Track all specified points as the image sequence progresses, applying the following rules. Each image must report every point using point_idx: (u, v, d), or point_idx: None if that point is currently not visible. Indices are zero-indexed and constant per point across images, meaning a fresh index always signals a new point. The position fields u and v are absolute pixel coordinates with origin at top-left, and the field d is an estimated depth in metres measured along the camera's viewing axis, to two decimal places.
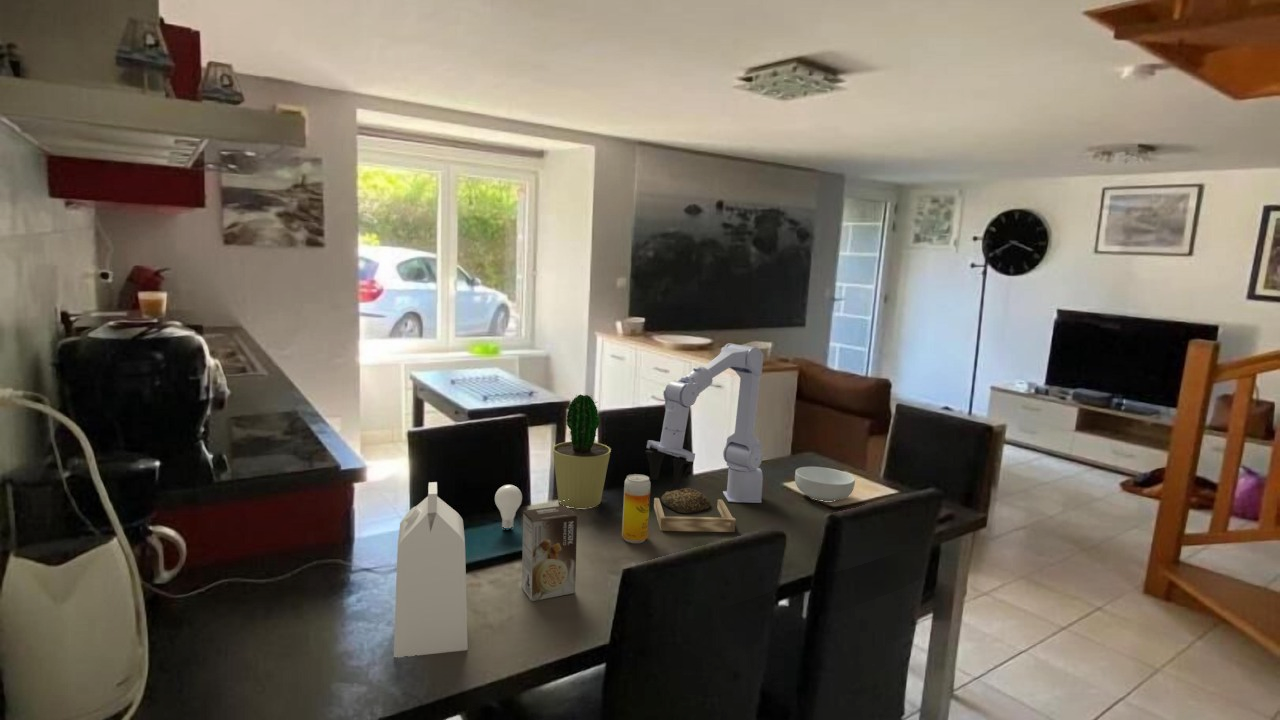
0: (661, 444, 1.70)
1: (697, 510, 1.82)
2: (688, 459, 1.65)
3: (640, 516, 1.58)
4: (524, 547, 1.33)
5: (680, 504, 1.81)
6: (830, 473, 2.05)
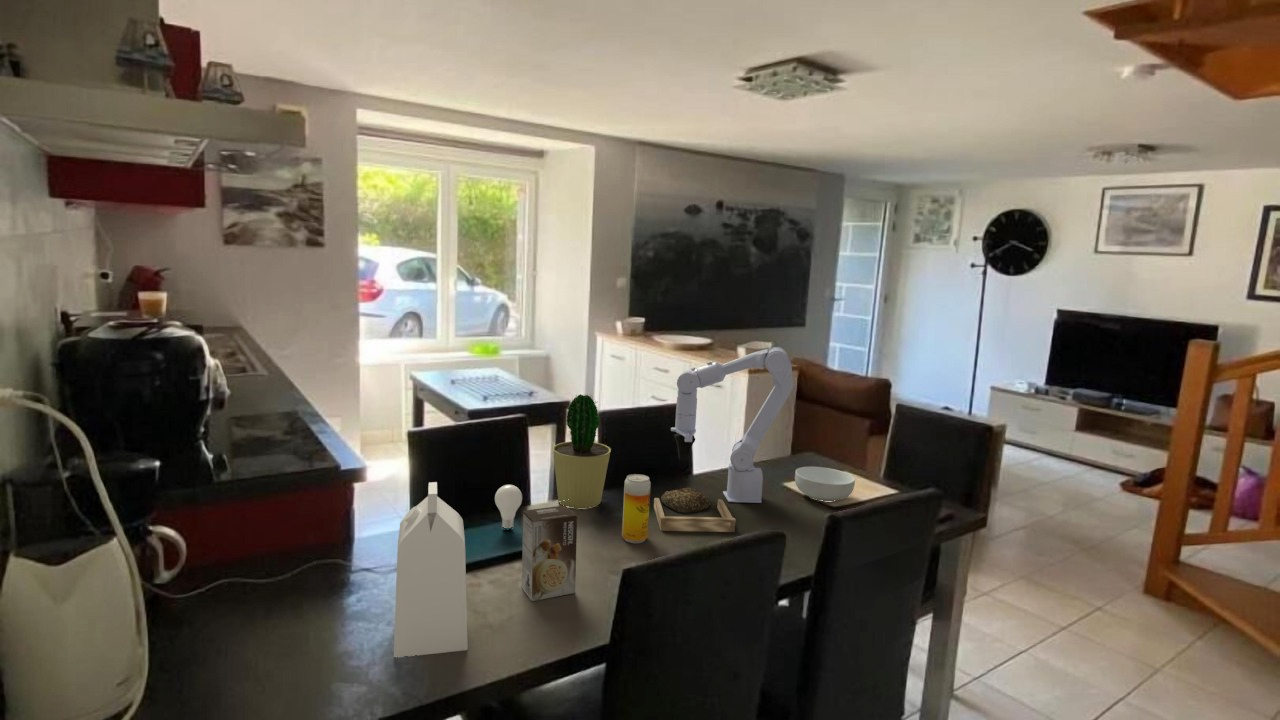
0: (675, 426, 1.96)
1: (697, 510, 1.82)
2: (685, 440, 1.88)
3: (640, 516, 1.58)
4: (524, 547, 1.33)
5: (680, 504, 1.81)
6: (830, 473, 2.05)
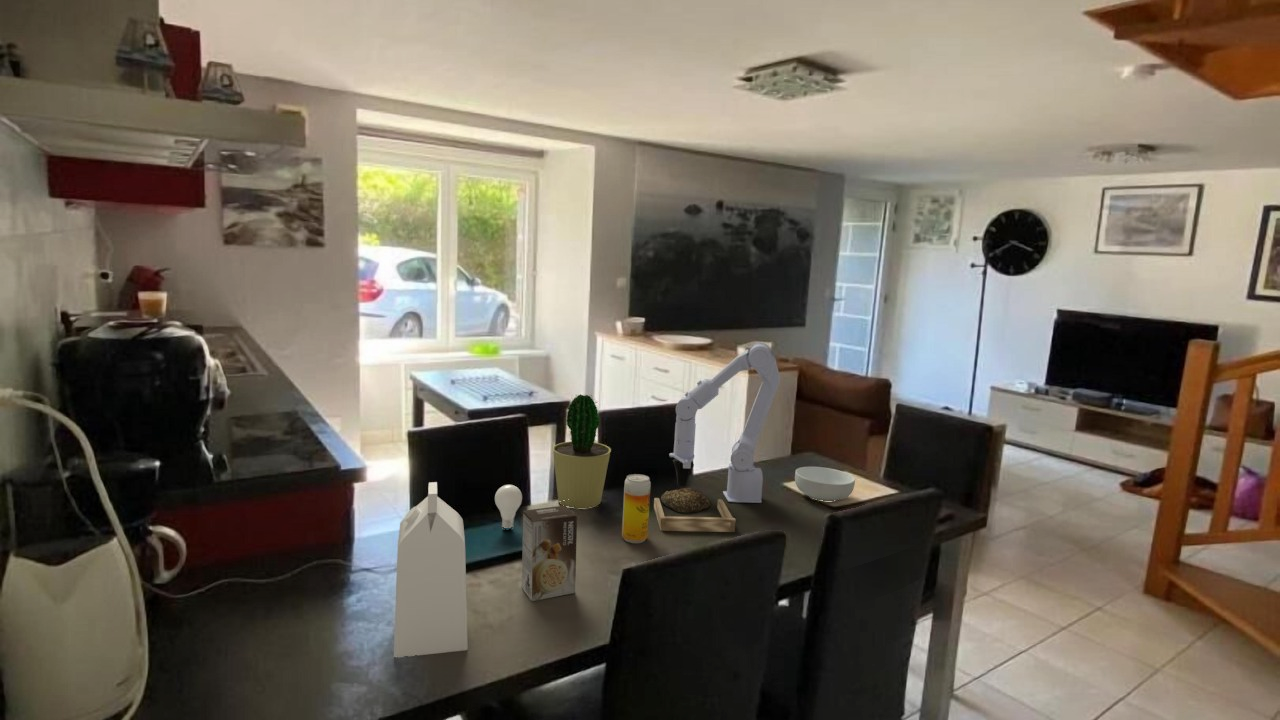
0: (674, 452, 1.96)
1: (697, 510, 1.82)
2: (683, 466, 1.89)
3: (640, 516, 1.58)
4: (524, 547, 1.33)
5: (680, 504, 1.81)
6: (830, 473, 2.05)
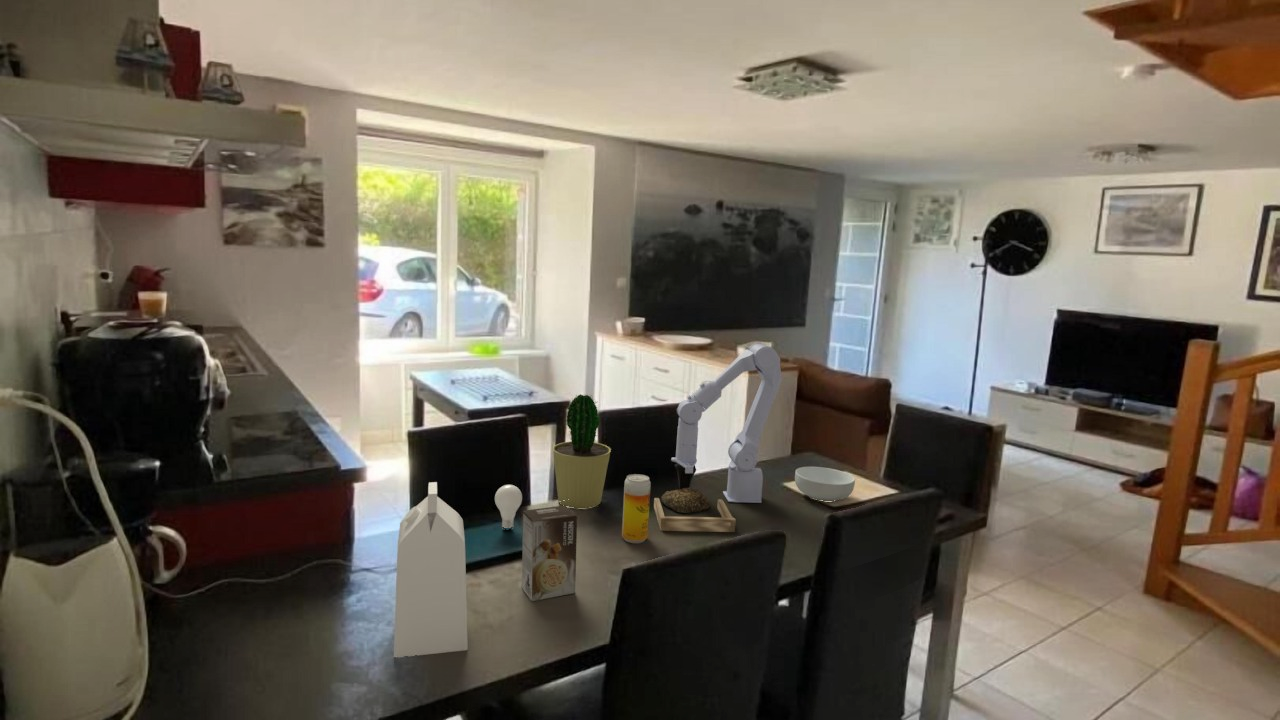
0: (676, 456, 1.92)
1: (696, 510, 1.82)
2: (685, 471, 1.85)
3: (640, 516, 1.58)
4: (524, 547, 1.33)
5: (679, 504, 1.81)
6: (830, 473, 2.05)
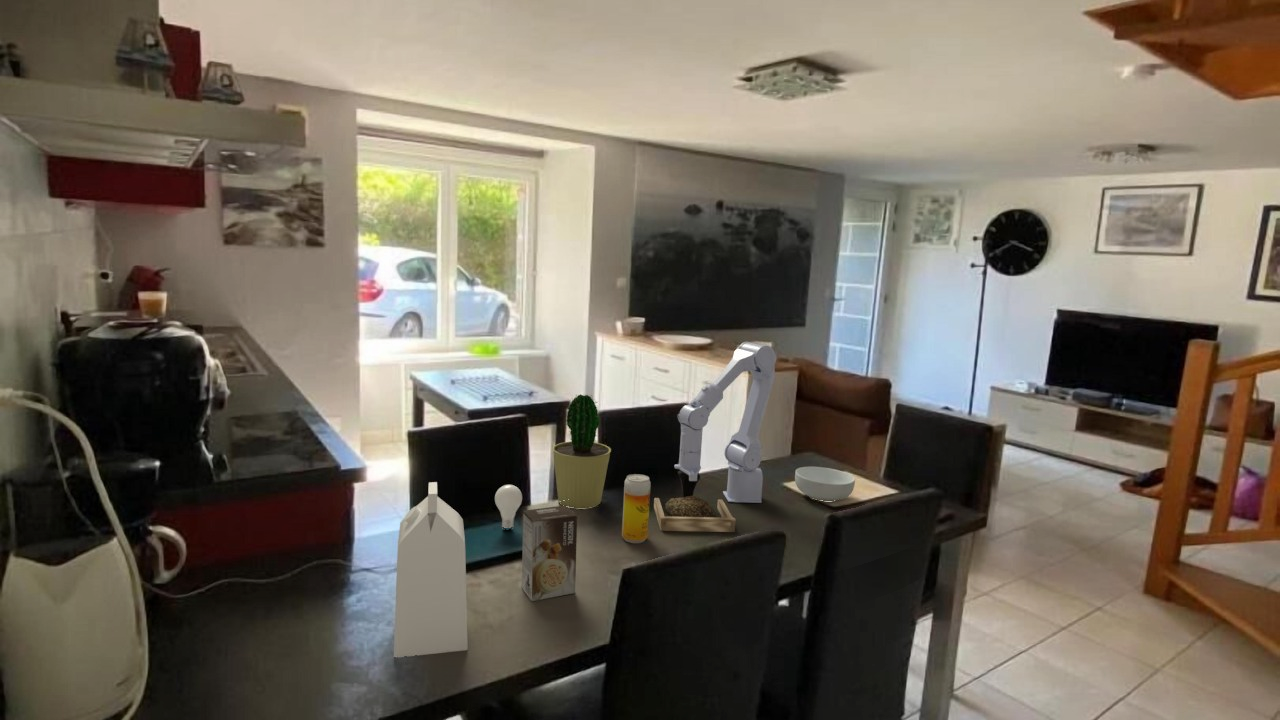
0: (679, 463, 1.86)
1: None
2: (689, 479, 1.78)
3: (640, 516, 1.58)
4: (524, 547, 1.33)
5: (679, 512, 1.75)
6: (830, 473, 2.05)
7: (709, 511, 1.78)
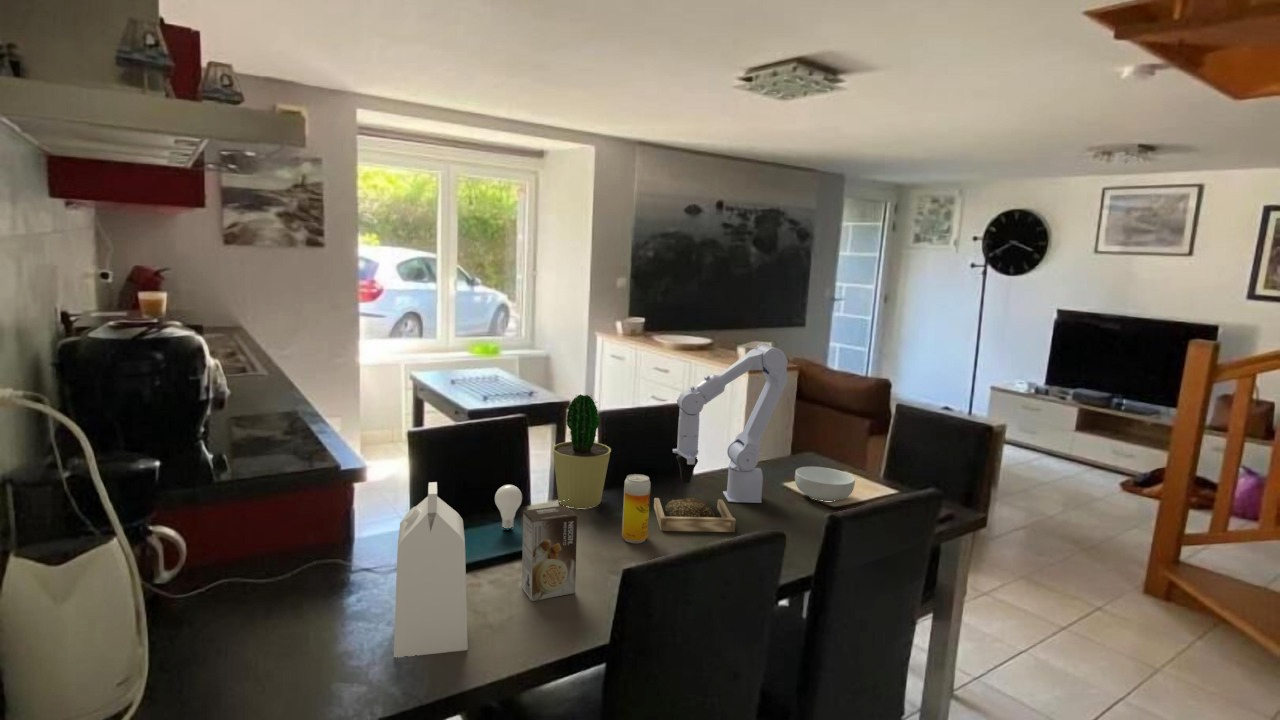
0: None
1: None
2: (687, 462, 1.83)
3: (640, 516, 1.58)
4: (524, 547, 1.33)
5: (678, 513, 1.74)
6: (830, 473, 2.05)
7: (709, 513, 1.76)
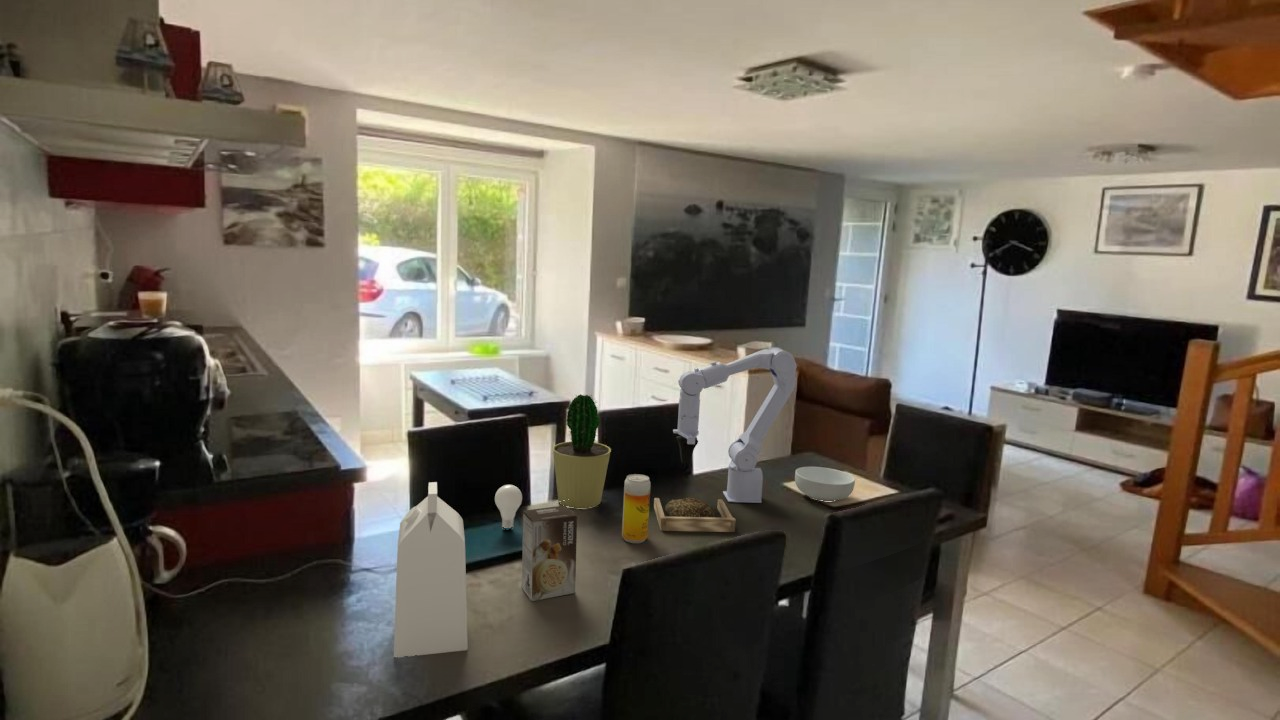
0: None
1: None
2: (687, 442, 1.84)
3: (640, 516, 1.58)
4: (524, 547, 1.33)
5: (678, 513, 1.74)
6: (830, 473, 2.05)
7: (709, 513, 1.76)
